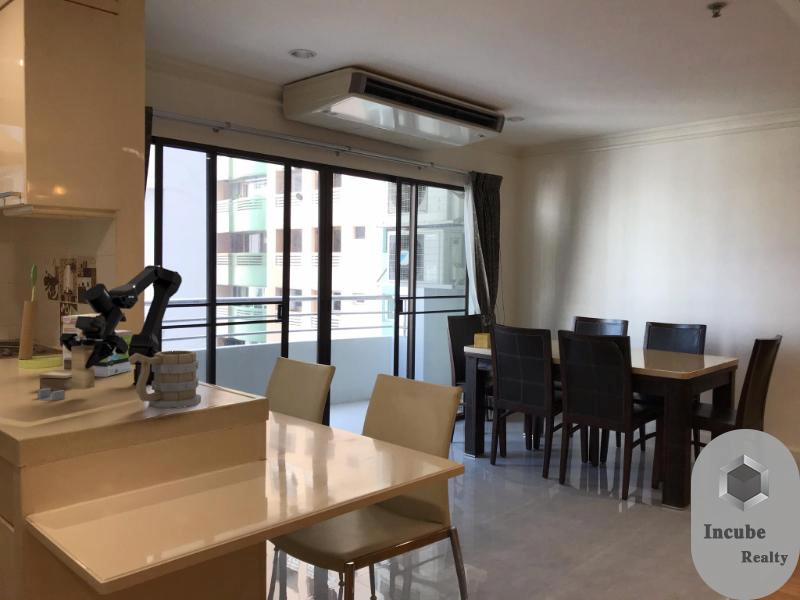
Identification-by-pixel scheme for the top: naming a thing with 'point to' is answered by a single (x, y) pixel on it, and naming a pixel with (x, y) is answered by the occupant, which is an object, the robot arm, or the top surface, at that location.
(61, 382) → the open wooden box
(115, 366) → the tea box
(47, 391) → the grey rounded piece
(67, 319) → the coffeecake box
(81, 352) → the wooden block
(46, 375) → the lid
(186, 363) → the tankard
